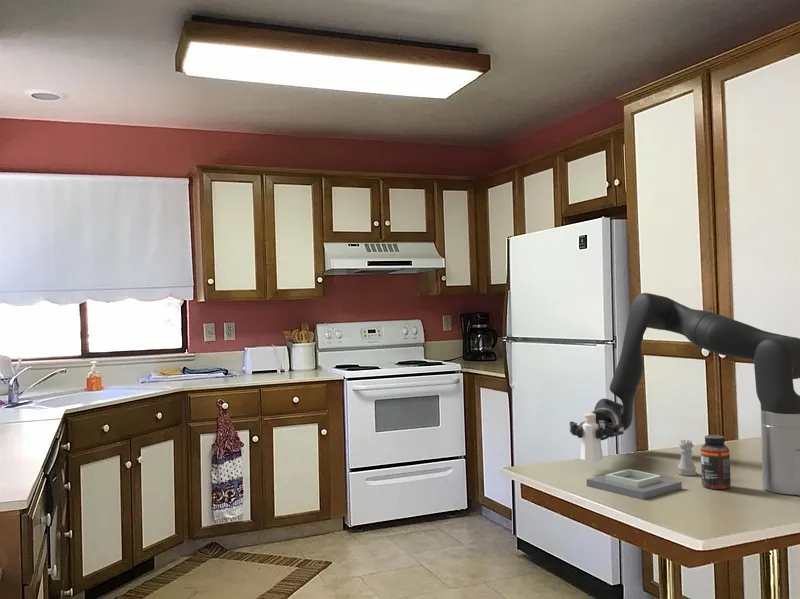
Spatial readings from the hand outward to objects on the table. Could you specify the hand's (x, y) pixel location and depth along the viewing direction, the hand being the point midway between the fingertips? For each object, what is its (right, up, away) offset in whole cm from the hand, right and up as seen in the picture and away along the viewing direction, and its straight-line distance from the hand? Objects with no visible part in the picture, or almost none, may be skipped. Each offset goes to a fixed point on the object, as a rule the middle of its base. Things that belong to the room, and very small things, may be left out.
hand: (588, 434), depth 171 cm
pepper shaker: (+1, -7, +2) cm, 7 cm away
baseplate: (+7, -10, -11) cm, 16 cm away
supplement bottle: (+25, -10, -12) cm, 30 cm away
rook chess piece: (+24, -10, 0) cm, 26 cm away
